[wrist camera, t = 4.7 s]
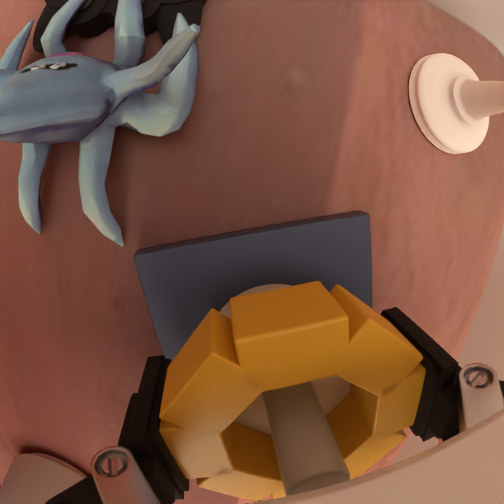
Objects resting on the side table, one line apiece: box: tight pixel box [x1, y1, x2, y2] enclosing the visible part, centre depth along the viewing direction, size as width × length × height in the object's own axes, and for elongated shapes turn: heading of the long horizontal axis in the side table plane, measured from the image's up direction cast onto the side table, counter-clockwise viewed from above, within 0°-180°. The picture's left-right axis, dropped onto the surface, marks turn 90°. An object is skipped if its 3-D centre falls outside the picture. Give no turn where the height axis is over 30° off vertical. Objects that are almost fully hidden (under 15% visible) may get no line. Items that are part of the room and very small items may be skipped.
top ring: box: [159, 281, 426, 501], centre depth 8 cm, size 7×7×2 cm
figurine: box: [0, 0, 207, 247], centre depth 7 cm, size 10×12×8 cm
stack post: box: [134, 211, 372, 496], centre depth 10 cm, size 9×9×8 cm
